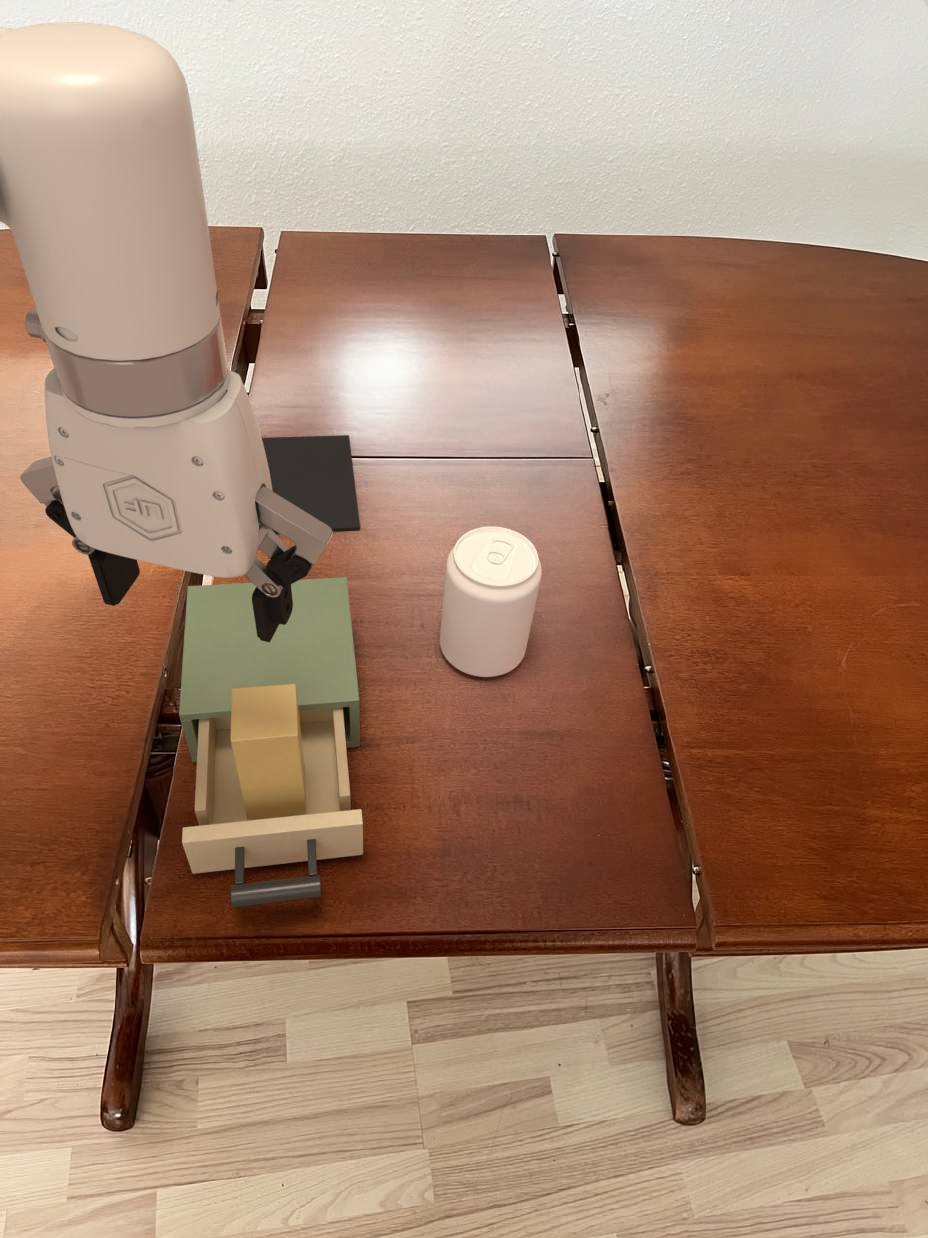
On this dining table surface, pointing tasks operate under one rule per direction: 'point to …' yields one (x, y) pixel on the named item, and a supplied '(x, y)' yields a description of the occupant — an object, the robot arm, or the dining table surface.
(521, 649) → the beverage can
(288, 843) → the drawer
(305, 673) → the cabinet
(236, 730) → the box
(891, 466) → the dining table surface
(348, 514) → the mat
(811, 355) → the dining table surface
